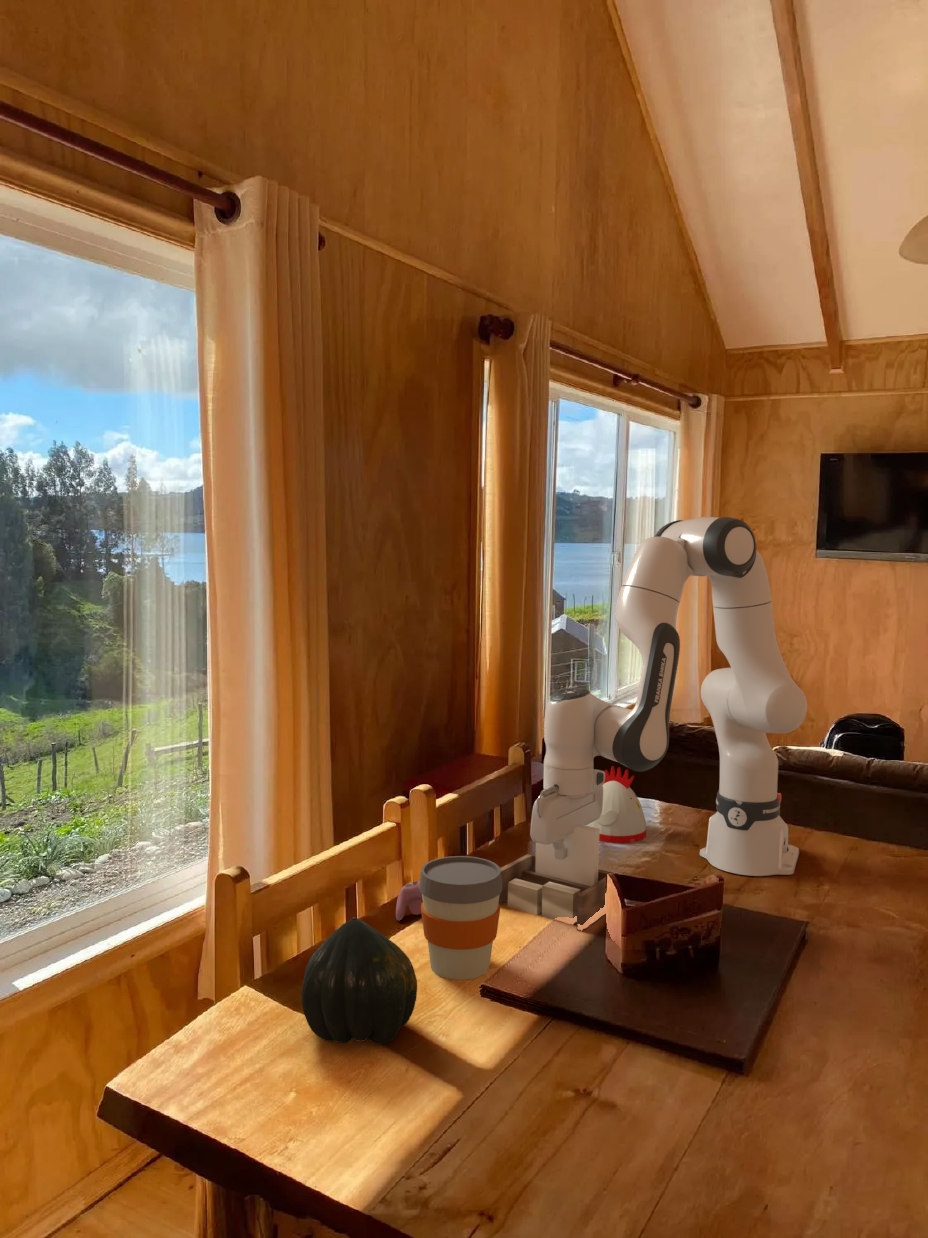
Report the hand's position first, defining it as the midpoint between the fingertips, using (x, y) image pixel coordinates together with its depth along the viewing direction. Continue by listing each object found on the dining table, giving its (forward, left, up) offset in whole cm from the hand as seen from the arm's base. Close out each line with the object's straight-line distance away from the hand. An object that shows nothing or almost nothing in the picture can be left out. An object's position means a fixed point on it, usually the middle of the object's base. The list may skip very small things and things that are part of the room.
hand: (566, 855), depth 165 cm
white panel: (0, 0, -8) cm, 8 cm away
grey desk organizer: (+4, 0, -8) cm, 9 cm away
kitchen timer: (-39, -10, -8) cm, 42 cm away
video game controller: (+21, -16, -8) cm, 28 cm away
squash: (+56, 0, -8) cm, 56 cm away
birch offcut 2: (+8, +3, -8) cm, 12 cm away
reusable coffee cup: (+33, 0, -8) cm, 34 cm away
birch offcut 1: (+8, -4, -8) cm, 12 cm away
